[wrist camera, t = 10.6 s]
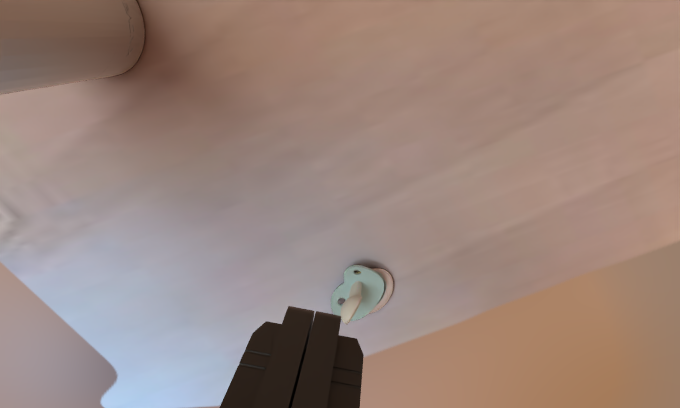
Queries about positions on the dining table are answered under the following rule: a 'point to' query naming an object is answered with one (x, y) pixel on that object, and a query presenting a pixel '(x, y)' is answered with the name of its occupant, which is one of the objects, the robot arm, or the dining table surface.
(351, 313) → the pacifier
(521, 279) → the dining table surface
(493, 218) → the dining table surface
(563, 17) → the dining table surface
